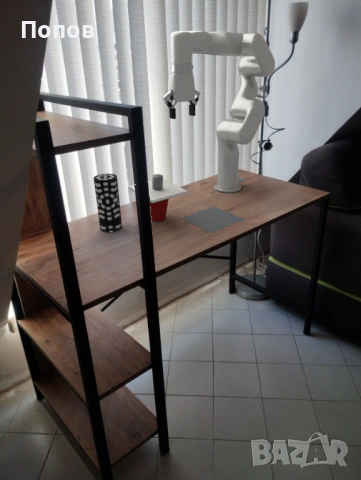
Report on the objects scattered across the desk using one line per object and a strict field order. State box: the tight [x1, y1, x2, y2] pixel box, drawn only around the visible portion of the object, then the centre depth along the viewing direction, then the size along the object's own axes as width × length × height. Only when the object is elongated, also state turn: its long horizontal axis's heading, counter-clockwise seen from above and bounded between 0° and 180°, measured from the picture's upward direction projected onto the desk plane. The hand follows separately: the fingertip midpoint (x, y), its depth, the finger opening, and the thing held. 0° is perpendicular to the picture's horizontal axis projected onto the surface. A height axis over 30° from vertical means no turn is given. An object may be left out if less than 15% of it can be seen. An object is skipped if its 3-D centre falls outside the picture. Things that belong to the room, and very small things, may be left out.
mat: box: [180, 206, 246, 233], centre depth 151 cm, size 18×18×1 cm
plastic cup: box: [150, 198, 170, 223], centre depth 150 cm, size 11×11×12 cm
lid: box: [127, 173, 188, 203], centre depth 146 cm, size 16×16×6 cm
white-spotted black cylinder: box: [93, 173, 123, 233], centre depth 142 cm, size 8×8×20 cm
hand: (182, 117), depth 150 cm, fingers open, 9 cm apart
